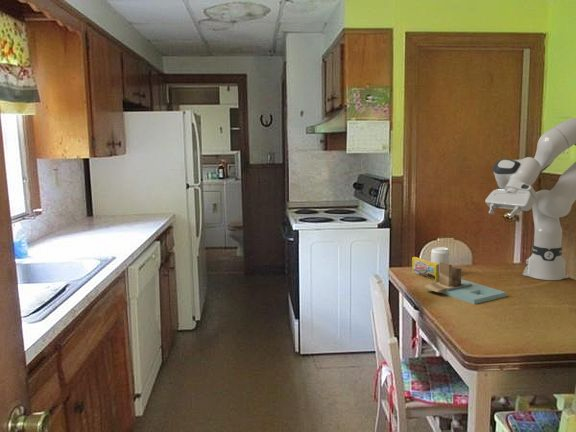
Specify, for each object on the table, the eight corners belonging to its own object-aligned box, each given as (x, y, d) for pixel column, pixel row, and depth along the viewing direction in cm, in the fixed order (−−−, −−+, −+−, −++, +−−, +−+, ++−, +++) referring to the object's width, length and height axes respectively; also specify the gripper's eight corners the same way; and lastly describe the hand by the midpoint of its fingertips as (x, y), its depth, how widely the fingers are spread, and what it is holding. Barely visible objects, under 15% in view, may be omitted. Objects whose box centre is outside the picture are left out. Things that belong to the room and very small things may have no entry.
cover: (439, 284, 214) (439, 261, 212) (453, 288, 207) (454, 265, 205) (423, 287, 209) (423, 264, 208) (437, 292, 202) (438, 268, 201)
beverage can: (436, 270, 246) (437, 246, 244) (451, 273, 240) (452, 248, 238) (427, 273, 240) (427, 248, 239) (442, 276, 234) (443, 251, 233)
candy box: (411, 274, 240) (411, 257, 239) (414, 273, 241) (415, 256, 240) (435, 282, 226) (436, 264, 225) (439, 281, 227) (440, 263, 226)
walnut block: (454, 287, 215) (455, 266, 214) (460, 289, 212) (461, 268, 211) (448, 288, 213) (449, 267, 212) (454, 290, 210) (455, 269, 209)
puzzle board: (460, 284, 222) (460, 277, 221) (505, 298, 202) (506, 290, 201) (429, 291, 213) (430, 283, 212) (474, 306, 193) (474, 297, 193)
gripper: (492, 183, 222) (476, 207, 218) (535, 186, 204) (518, 212, 201) (498, 193, 225) (482, 217, 221) (541, 196, 207) (525, 222, 204)
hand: (500, 215), depth 211 cm, fingers open, 8 cm apart
